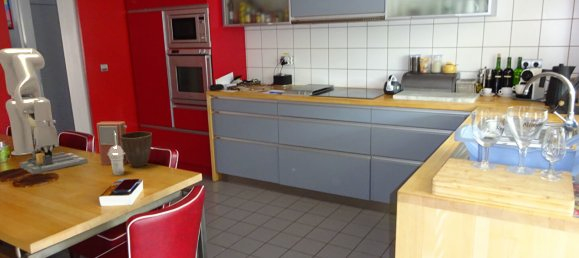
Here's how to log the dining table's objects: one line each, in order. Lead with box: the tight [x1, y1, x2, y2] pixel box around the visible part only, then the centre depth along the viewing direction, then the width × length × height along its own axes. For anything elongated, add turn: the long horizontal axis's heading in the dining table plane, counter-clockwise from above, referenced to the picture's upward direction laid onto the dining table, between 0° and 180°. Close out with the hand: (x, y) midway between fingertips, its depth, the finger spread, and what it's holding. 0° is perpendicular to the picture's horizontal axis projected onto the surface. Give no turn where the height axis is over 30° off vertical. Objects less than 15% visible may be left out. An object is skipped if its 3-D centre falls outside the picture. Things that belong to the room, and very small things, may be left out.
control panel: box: [96, 121, 129, 165], centre depth 225 cm, size 21×7×15 cm
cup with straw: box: [107, 131, 126, 176], centre depth 207 cm, size 8×9×20 cm
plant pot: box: [120, 131, 153, 168], centre depth 220 cm, size 15×15×16 cm
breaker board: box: [18, 150, 88, 175], centre depth 225 cm, size 22×26×7 cm
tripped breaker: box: [34, 152, 45, 164], centre depth 221 cm, size 4×5×5 cm
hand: (48, 158), depth 224 cm, fingers closed
